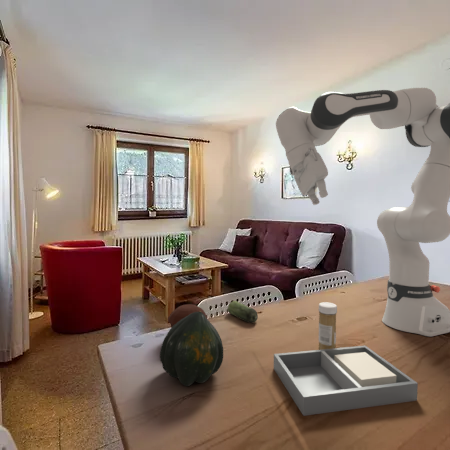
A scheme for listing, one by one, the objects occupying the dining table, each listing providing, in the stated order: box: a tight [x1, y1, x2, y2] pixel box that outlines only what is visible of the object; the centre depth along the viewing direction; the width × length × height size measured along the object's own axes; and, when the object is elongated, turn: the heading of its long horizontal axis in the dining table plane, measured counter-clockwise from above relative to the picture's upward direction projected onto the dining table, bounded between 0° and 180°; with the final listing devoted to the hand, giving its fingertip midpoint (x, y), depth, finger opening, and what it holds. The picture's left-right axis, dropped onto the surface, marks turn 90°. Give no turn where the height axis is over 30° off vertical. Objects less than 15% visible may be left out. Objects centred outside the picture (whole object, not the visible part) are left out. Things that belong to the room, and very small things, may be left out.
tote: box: [273, 345, 419, 417], centre depth 64 cm, size 24×16×4 cm, turn 100°
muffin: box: [167, 303, 208, 329], centre depth 87 cm, size 12×11×10 cm
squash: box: [159, 311, 224, 387], centre depth 69 cm, size 14×15×15 cm
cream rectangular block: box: [334, 352, 396, 387], centre depth 65 cm, size 8×10×4 cm
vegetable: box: [227, 300, 259, 324], centre depth 104 cm, size 14×5×5 cm, turn 36°
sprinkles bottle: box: [318, 301, 338, 350], centre depth 78 cm, size 5×5×14 cm
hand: (320, 200), depth 88 cm, fingers open, 8 cm apart
